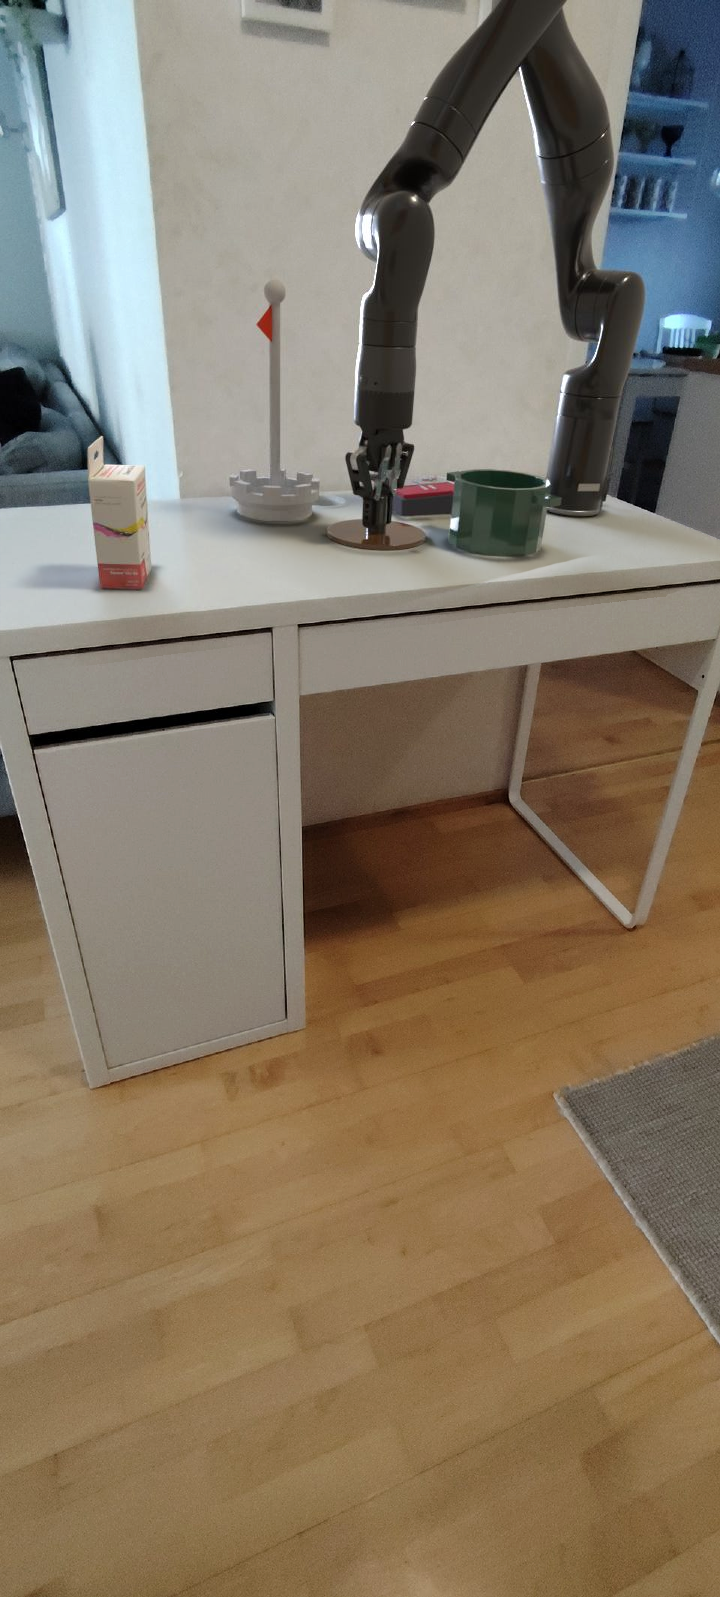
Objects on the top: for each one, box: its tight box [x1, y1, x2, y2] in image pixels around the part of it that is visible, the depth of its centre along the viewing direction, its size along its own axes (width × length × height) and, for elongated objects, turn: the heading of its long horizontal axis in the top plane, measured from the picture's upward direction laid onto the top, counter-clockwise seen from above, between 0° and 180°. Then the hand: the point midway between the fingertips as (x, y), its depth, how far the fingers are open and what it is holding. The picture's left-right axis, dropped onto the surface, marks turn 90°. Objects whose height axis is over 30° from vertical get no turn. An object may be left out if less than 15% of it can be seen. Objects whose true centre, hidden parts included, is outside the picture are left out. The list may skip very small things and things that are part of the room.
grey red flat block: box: [392, 475, 454, 517], centre depth 132 cm, size 11×4×15 cm
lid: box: [326, 494, 427, 551], centre depth 115 cm, size 14×14×6 cm
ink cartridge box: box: [87, 435, 153, 590], centre depth 93 cm, size 9×5×15 cm, turn 5°
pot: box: [446, 468, 561, 558], centre depth 114 cm, size 13×18×9 cm
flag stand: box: [229, 278, 321, 522], centre depth 117 cm, size 13×13×30 cm
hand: (376, 524), depth 115 cm, fingers closed on lid, 2 cm apart
